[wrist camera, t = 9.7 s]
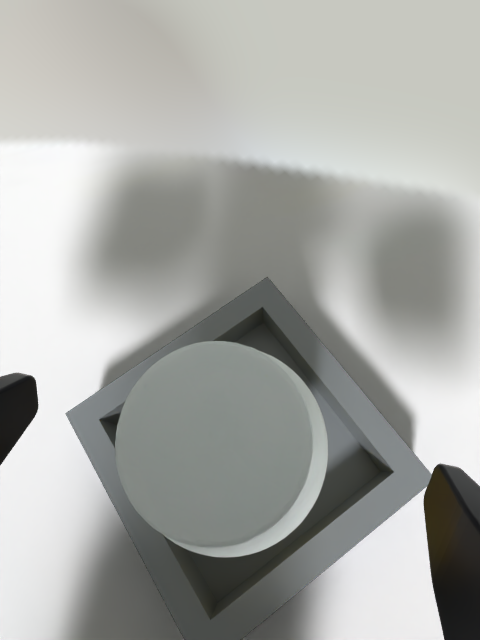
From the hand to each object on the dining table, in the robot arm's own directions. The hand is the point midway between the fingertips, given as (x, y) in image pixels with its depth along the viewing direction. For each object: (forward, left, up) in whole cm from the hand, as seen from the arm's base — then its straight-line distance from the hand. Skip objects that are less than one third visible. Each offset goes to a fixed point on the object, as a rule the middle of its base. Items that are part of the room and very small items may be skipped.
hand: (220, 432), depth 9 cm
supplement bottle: (0, 0, -9) cm, 9 cm away
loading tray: (0, 0, -9) cm, 9 cm away
